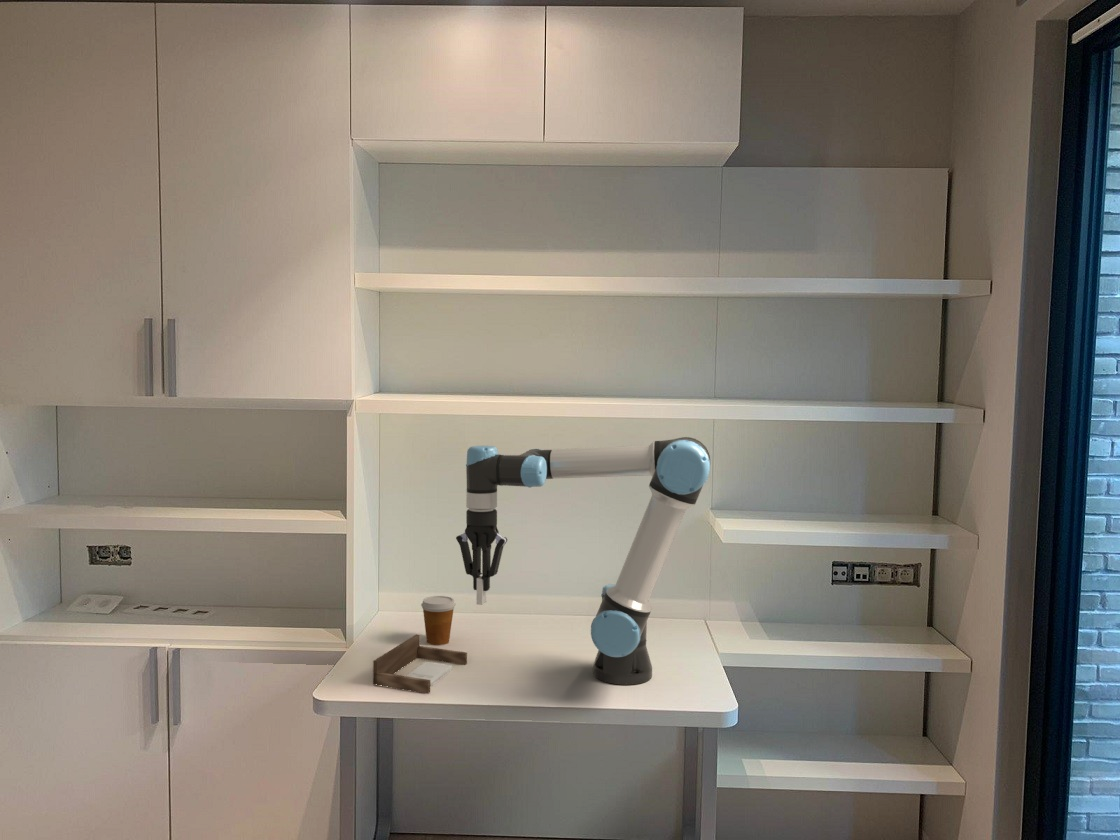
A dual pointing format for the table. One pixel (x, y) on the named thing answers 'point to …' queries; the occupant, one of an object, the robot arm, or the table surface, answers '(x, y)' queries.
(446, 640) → the disposable coffee cup
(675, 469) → the robot arm
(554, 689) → the table surface
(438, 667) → the external hard drive
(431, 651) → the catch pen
